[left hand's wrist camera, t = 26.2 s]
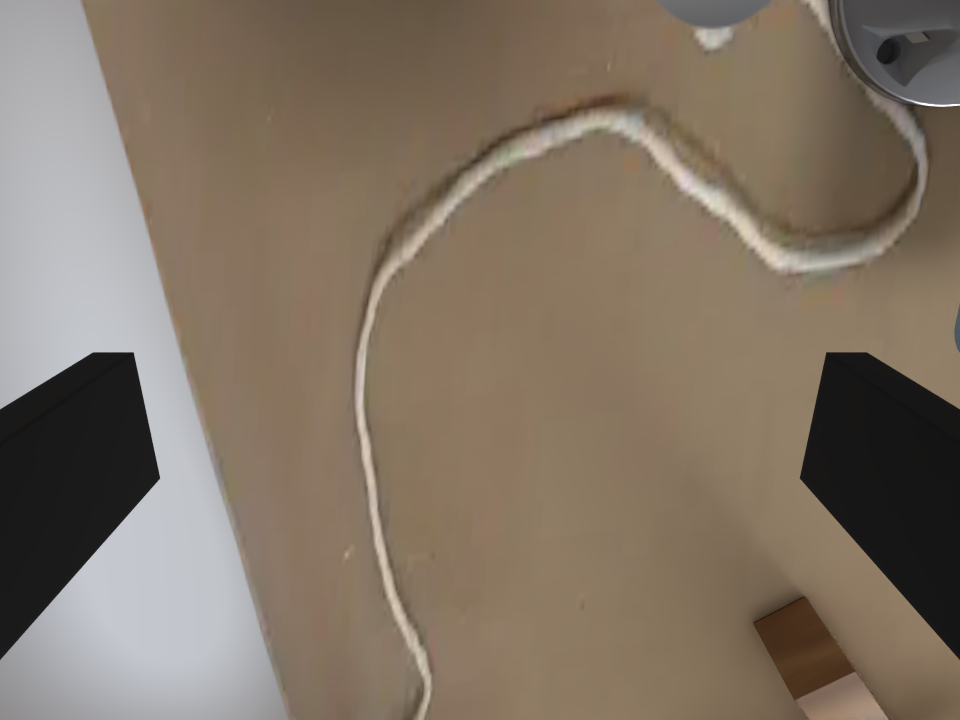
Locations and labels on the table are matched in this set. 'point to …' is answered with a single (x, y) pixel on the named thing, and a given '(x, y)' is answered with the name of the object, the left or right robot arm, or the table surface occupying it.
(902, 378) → the left robot arm
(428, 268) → the table surface
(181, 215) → the table surface
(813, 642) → the bar
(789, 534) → the table surface
